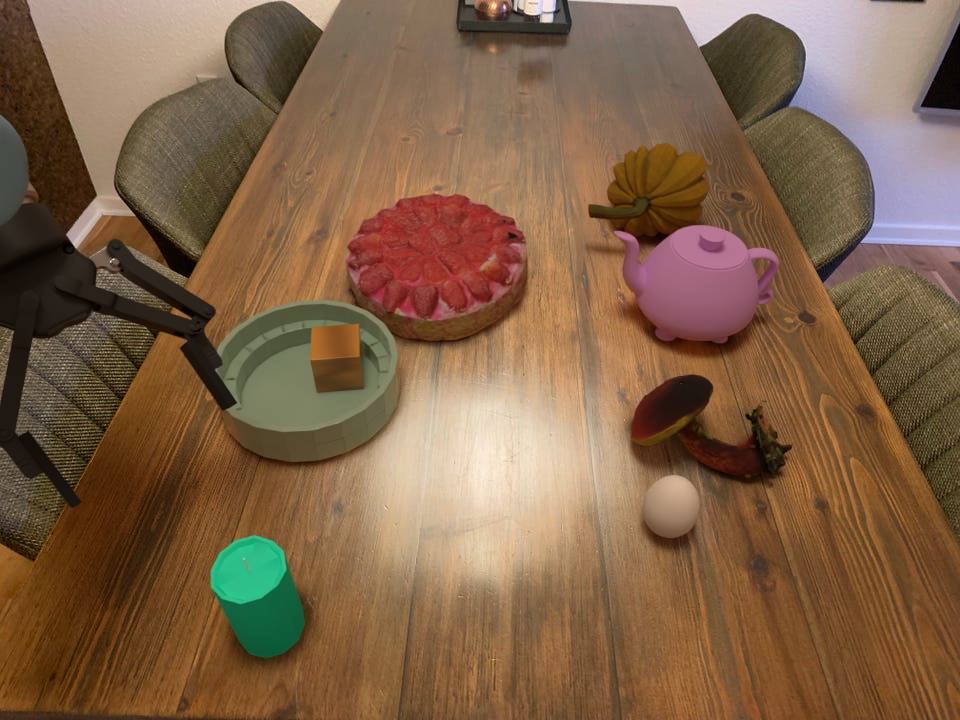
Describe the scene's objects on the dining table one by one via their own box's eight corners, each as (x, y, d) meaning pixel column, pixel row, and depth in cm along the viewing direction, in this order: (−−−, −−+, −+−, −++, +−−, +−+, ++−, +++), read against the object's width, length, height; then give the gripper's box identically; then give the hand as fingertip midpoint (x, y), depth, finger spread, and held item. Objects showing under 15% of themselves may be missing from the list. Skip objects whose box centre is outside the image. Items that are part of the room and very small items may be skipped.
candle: (276, 670, 62) (248, 608, 53) (223, 638, 63) (187, 573, 55) (318, 612, 65) (298, 544, 57) (267, 583, 67) (239, 514, 59)
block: (316, 393, 83) (309, 360, 79) (317, 359, 87) (311, 326, 83) (364, 389, 84) (359, 356, 80) (363, 356, 88) (359, 323, 84)
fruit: (703, 221, 115) (700, 260, 98) (604, 214, 119) (584, 250, 102) (715, 133, 109) (714, 157, 92) (610, 129, 113) (590, 152, 96)
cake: (491, 209, 110) (491, 165, 104) (557, 317, 95) (561, 273, 89) (334, 247, 105) (324, 202, 99) (376, 368, 89) (367, 324, 83)
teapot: (602, 354, 90) (621, 268, 80) (593, 277, 101) (608, 193, 91) (776, 361, 90) (815, 276, 80) (747, 284, 101) (779, 200, 91)
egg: (650, 495, 75) (665, 451, 70) (697, 521, 73) (717, 478, 68) (627, 531, 72) (641, 488, 67) (676, 559, 70) (695, 517, 65)
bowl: (253, 495, 74) (241, 461, 70) (202, 369, 86) (189, 333, 82) (430, 422, 81) (429, 387, 77) (359, 316, 94) (354, 280, 90)
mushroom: (713, 482, 86) (637, 385, 86) (805, 440, 79) (722, 334, 78) (686, 542, 77) (600, 433, 77) (788, 501, 69) (692, 380, 69)
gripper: (139, 178, 64) (271, 377, 67) (-188, 311, 50) (0, 550, 54) (152, 145, 57) (297, 366, 61) (-216, 287, 44) (-3, 558, 48)
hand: (158, 453), depth 58 cm, fingers open, 13 cm apart
